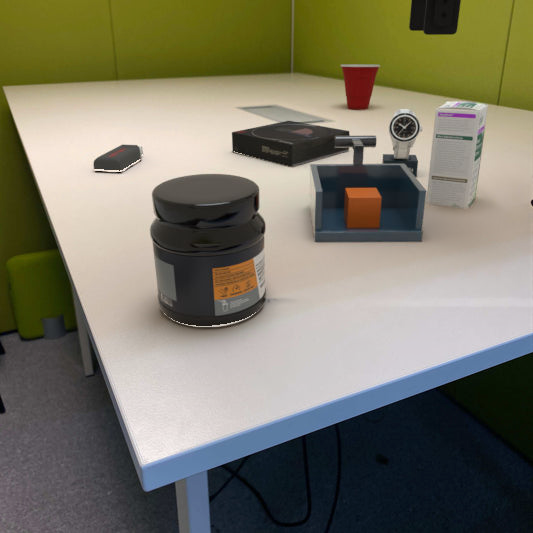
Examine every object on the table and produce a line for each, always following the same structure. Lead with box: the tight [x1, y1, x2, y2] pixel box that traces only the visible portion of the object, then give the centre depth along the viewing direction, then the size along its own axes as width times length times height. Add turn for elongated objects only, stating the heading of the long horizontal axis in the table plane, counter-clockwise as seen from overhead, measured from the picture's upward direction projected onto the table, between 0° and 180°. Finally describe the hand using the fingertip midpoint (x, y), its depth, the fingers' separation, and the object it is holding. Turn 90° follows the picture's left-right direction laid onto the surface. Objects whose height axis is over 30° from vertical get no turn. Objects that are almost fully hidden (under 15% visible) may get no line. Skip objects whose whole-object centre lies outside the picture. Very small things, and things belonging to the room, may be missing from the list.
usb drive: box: [93, 144, 144, 171], centre depth 102 cm, size 5×12×3 cm, turn 168°
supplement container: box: [149, 173, 267, 326], centre depth 51 cm, size 10×10×12 cm
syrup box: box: [425, 100, 489, 210], centre depth 75 cm, size 6×6×14 cm
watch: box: [381, 108, 423, 178], centre depth 91 cm, size 6×8×11 cm
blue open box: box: [308, 135, 427, 243], centre depth 70 cm, size 17×13×10 cm
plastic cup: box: [340, 64, 381, 111], centre depth 153 cm, size 11×11×12 cm
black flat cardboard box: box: [231, 120, 351, 167], centre depth 110 cm, size 16×17×4 cm
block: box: [344, 188, 382, 228], centre depth 69 cm, size 4×4×4 cm
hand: (430, 32), depth 59 cm, fingers open, 9 cm apart
